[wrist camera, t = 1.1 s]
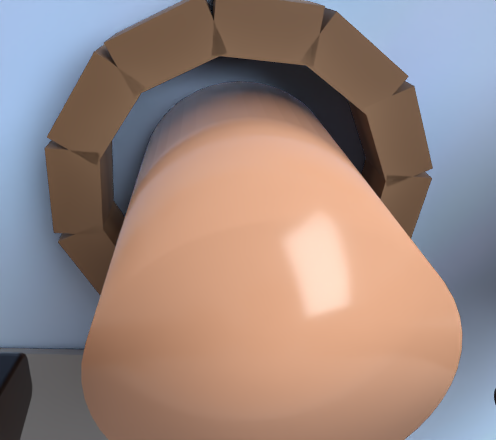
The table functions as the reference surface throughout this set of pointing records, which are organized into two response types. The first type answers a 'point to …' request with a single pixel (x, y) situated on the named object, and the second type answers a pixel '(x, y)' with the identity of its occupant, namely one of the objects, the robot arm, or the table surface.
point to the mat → (57, 397)
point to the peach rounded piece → (263, 289)
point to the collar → (197, 53)
